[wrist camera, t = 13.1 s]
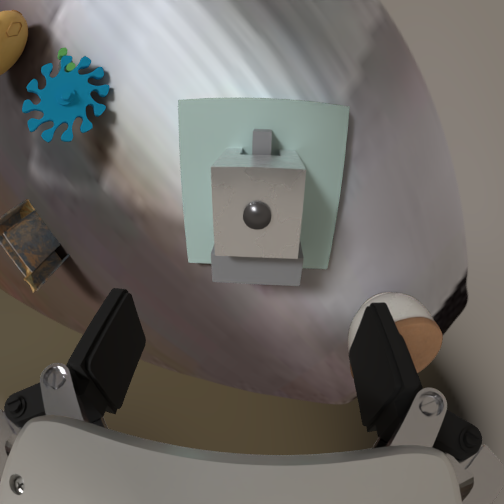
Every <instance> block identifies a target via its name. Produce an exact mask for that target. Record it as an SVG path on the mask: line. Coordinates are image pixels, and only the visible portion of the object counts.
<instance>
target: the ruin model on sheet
mask: <svg viewBox="0 0 504 504" xmlns="http://www.w3.org/2000/svg"><path fill="white" fill-rule="evenodd" d="M0 244H1V245H2V247H3V248H4V249H5V251H6V252H7V254H8V255H9V256H10V258H11V259H12V260H13V262H14V263H15V264H16V266H17V267H18V268H19V270H20V271H21V272H22V273H23V275H24V276H25V278H24V280H26V281H27V282H28V284H29V285H30V286H31V289H32V291H33V292H34V291H35V290H37V291H38V290H39V289H40V287H41V286H42V285H43V284H44V283H45V282H46V281H47V280H48V278H49V277H50V276H51V275H52V274H53V273H54V272H55V271H56V270H57V269H58V268H59V267H60V266H61V264H62V263H63V262H64V261H65V260H66V259H67V258H68V257H69V256H70V255H69V254H68V255H67V256H66V257H65V258H64V259H63V260H62V259H61V258H60V257H59V256H58V255H57V253H56V252H55V251H54V250H55V249H56V248H57V247H59V246H60V243H59V242H58V241H57V239H56V238H55V237H54V236H53V234H52V233H51V232H50V230H49V229H48V228H47V226H46V225H45V224H44V222H43V221H42V220H41V218H40V217H39V215H38V214H37V213H36V211H35V209H34V208H33V206H32V205H31V204H30V202H29V200H28V199H26V200H25V201H23V202H22V203H20V204H19V205H17V206H16V207H14V208H13V209H11V210H10V211H8V212H7V213H5V214H4V215H2V216H1V217H0Z"/></svg>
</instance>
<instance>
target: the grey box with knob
mask: <svg viewBox="0 0 504 504" xmlns="http://www.w3.org/2000/svg"><path fill="white" fill-rule="evenodd" d="M305 179H306V168H305V167H304V165H303V163H302V161H301V159H300V158H299V156H298V154H297V152H296V150H289V149H279V156H274V155H243V148H227V149H226V150H225V151H224V152H223V153H222V154H221V155H220V157H219V158H218V159H217V160H216V161H215V162H214V164H213V165H212V166H211V187H212V210H213V230H214V247H215V256H238V257H263V258H288V259H298V251H299V242H300V233H301V223H302V213H303V202H304V191H305Z"/></svg>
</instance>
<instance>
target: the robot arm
mask: <svg viewBox="0 0 504 504" xmlns="http://www.w3.org/2000/svg"><path fill="white" fill-rule="evenodd" d="M145 343H146V339H145V335H144V332H143V329H142V326H141V323H140V320H139V317H138V314H137V311H136V308H135V305H134V301H133V298H132V295H131V294H130V293H128V291H127V290H126V289H118V288H113V289H112V290H111V292H110V293H109V295H108V296H107V298H106V299H105V301H104V302H103V304H102V305H101V307H100V309H99V310H98V312H97V313H96V315H95V316H94V318H93V320H92V321H91V323H90V325H89V326H88V328H87V329H86V331H85V333H84V334H83V336H82V338H81V340H80V341H79V343H78V345H77V346H76V348H75V350H74V352H73V354H72V355H71V357H70V359H69V361H68V363H67V365H66V366H65V365H64V364H61V363H54V364H51V365H49V366H48V367H46V368H45V369H44V371H43V372H42V374H41V377H40V383H38V384H35V385H33V386H31V387H28V388H26V389H24V390H21V391H19V392H17V393H14V394H12V395H11V396H10V397H9V398H8V399H7V401H6V403H5V407H4V408H5V411H3V410H0V504H492V503H493V501H494V500H495V498H496V497H497V496H498V494H499V493H500V491H501V490H502V488H503V486H504V465H503V463H502V462H501V461H500V460H499V459H498V458H497V457H496V455H495V454H494V453H493V452H492V451H491V450H490V449H489V447H488V446H487V445H486V444H485V445H482V436H481V433H480V431H479V430H478V428H477V427H475V426H474V425H472V424H470V423H469V422H467V421H465V420H463V419H462V418H460V417H458V416H456V415H455V414H453V413H452V412H450V411H448V410H447V401H446V399H445V397H444V395H443V394H442V393H441V392H439V391H438V390H437V389H434V388H425V389H423V388H422V385H421V382H420V379H419V376H418V374H417V371H416V368H415V366H414V363H413V360H412V358H411V355H410V353H409V350H408V348H407V345H406V343H405V340H404V338H403V336H402V335H401V334H399V331H398V329H397V327H396V324H395V322H394V320H393V317H392V315H391V313H390V311H389V308H388V306H387V304H386V303H385V302H381V303H371V304H370V306H367V307H366V309H365V311H364V314H363V317H362V319H361V322H360V325H359V327H358V330H357V333H356V335H355V338H354V340H353V343H352V345H351V347H350V350H349V359H350V364H351V368H352V373H353V378H354V382H355V387H356V392H357V397H358V402H359V407H360V413H361V419H362V423H363V425H364V426H367V432H370V431H377V434H378V437H379V438H378V439H377V441H376V443H375V444H374V446H373V447H372V449H365V450H357V451H349V452H339V453H327V454H313V455H251V454H250V455H249V454H236V453H224V452H215V451H207V450H200V449H193V448H187V447H180V446H175V445H170V444H165V443H160V442H155V441H151V440H147V439H143V438H139V437H135V436H132V435H128V434H124V433H121V432H117V431H113V430H110V429H108V427H107V425H106V423H105V420H104V418H103V416H104V413H105V411H107V412H109V413H113V414H116V411H117V409H120V408H121V406H122V404H123V401H124V398H125V395H126V393H127V390H128V387H129V385H130V382H131V379H132V377H133V374H134V371H135V369H136V367H137V364H138V361H139V359H140V356H141V354H142V352H143V349H144V347H145Z"/></svg>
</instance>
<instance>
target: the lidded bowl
mask: <svg viewBox="0 0 504 504" xmlns="http://www.w3.org/2000/svg"><path fill="white" fill-rule="evenodd" d="M381 302H385V303H386V304H387V306H388V308H389V311H390V313H391V315H392V317H393V320H394V322H395V324H396V327H397V329H398V331H399V334H401V335H402V336H403V338H404V340H405V343H406V345H407V348H408V350H409V353H410V355H411V358H412V360H413V363H414V366H415V368H416V371H417V373H418V372H420V371H421V370H422V369H424V368H425V367H426V366H427V365H428V364H429V363H430V362H431V361H432V360H433V359H434V358H435V356H436V355H437V353H438V352H439V350H440V348H441V344H442V339H443V336H442V332H441V330H440V328H439V326H438V325H437V323H436V322H435V321H434V319H433V318H432V316H431V315H430V313H429V311H428V310H427V309H426V308H425V307H424V306H423V305H422V304H421V303H420V302H419V301H418V300H417V299H415V298H413V297H411V296H409V295H406V294H403V293H392V292H384V293H380V294H377V295H375V296H373V297H371V298H369V299H368V300H367V301H366V302H365V303H364V304H363V305H362V306H361V308H360V309H359V311H358V312H357V313H356V315H355V316H354V318H353V320H352V322H351V325H350V328H349V332H348V354H349V350H350V347H351V345H352V343H353V340H354V338H355V335H356V333H357V330H358V327H359V325H360V322H361V319H362V317H363V314H364V311H365V309H366V307H367V306H370V304H371V303H381ZM349 360H350V359H349ZM350 369H351V374H352V377H353V373H352V368H351V364H350Z"/></svg>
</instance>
